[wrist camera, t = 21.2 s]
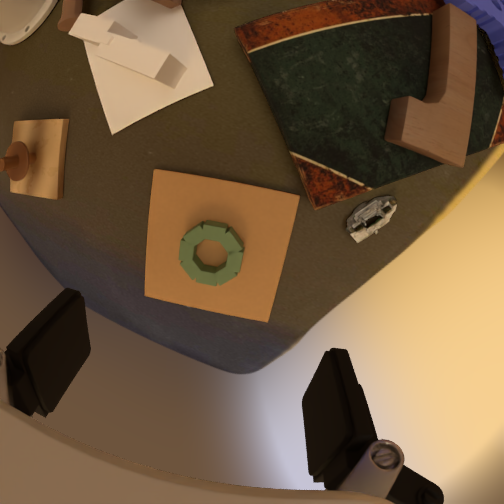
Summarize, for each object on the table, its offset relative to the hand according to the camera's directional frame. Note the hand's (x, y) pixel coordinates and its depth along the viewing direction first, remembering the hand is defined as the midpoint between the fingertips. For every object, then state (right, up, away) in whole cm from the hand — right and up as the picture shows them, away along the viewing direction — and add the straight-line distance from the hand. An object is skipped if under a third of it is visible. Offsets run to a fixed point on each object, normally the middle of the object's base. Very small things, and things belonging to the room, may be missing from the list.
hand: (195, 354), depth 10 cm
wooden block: (+16, +11, +9) cm, 22 cm away
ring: (-2, +4, +19) cm, 19 cm away
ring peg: (-23, +15, +16) cm, 32 cm away
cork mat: (-2, +4, +19) cm, 20 cm away
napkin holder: (-9, +24, +12) cm, 28 cm away
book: (+15, +20, +12) cm, 28 cm away
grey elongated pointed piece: (+13, +8, +16) cm, 22 cm away
